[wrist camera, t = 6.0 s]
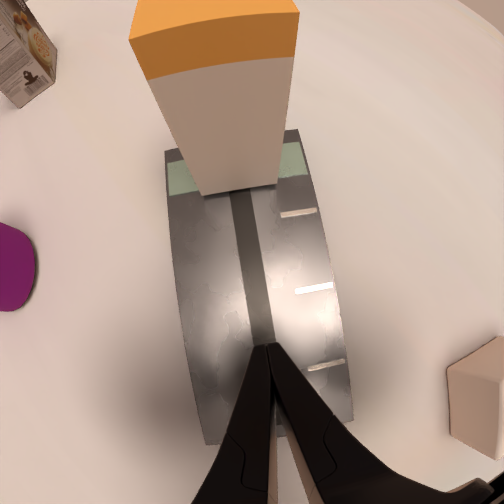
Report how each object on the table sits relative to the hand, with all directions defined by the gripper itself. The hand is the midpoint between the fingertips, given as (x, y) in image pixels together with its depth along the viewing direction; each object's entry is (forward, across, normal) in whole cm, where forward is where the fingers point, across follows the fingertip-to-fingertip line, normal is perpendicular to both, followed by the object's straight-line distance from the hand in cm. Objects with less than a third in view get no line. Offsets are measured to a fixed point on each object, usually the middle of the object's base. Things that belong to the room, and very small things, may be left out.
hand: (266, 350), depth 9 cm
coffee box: (+31, +24, -17) cm, 42 cm away
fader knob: (+13, 0, -2) cm, 14 cm away
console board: (+9, 0, +5) cm, 10 cm away
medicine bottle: (0, -18, +14) cm, 23 cm away
